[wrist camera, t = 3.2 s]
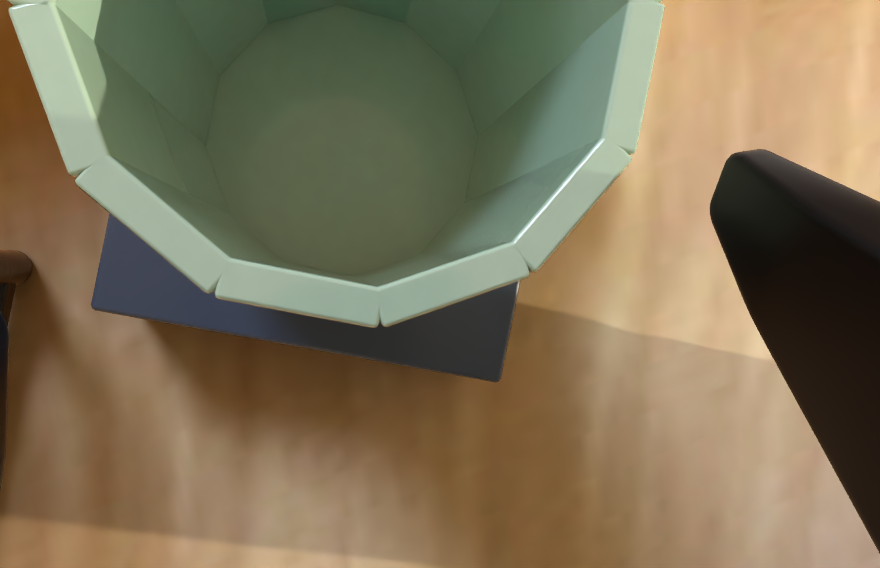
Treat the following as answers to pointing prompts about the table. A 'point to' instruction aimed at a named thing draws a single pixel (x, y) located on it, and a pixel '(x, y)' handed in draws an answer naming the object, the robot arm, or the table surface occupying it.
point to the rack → (11, 277)
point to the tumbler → (344, 136)
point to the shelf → (305, 316)
